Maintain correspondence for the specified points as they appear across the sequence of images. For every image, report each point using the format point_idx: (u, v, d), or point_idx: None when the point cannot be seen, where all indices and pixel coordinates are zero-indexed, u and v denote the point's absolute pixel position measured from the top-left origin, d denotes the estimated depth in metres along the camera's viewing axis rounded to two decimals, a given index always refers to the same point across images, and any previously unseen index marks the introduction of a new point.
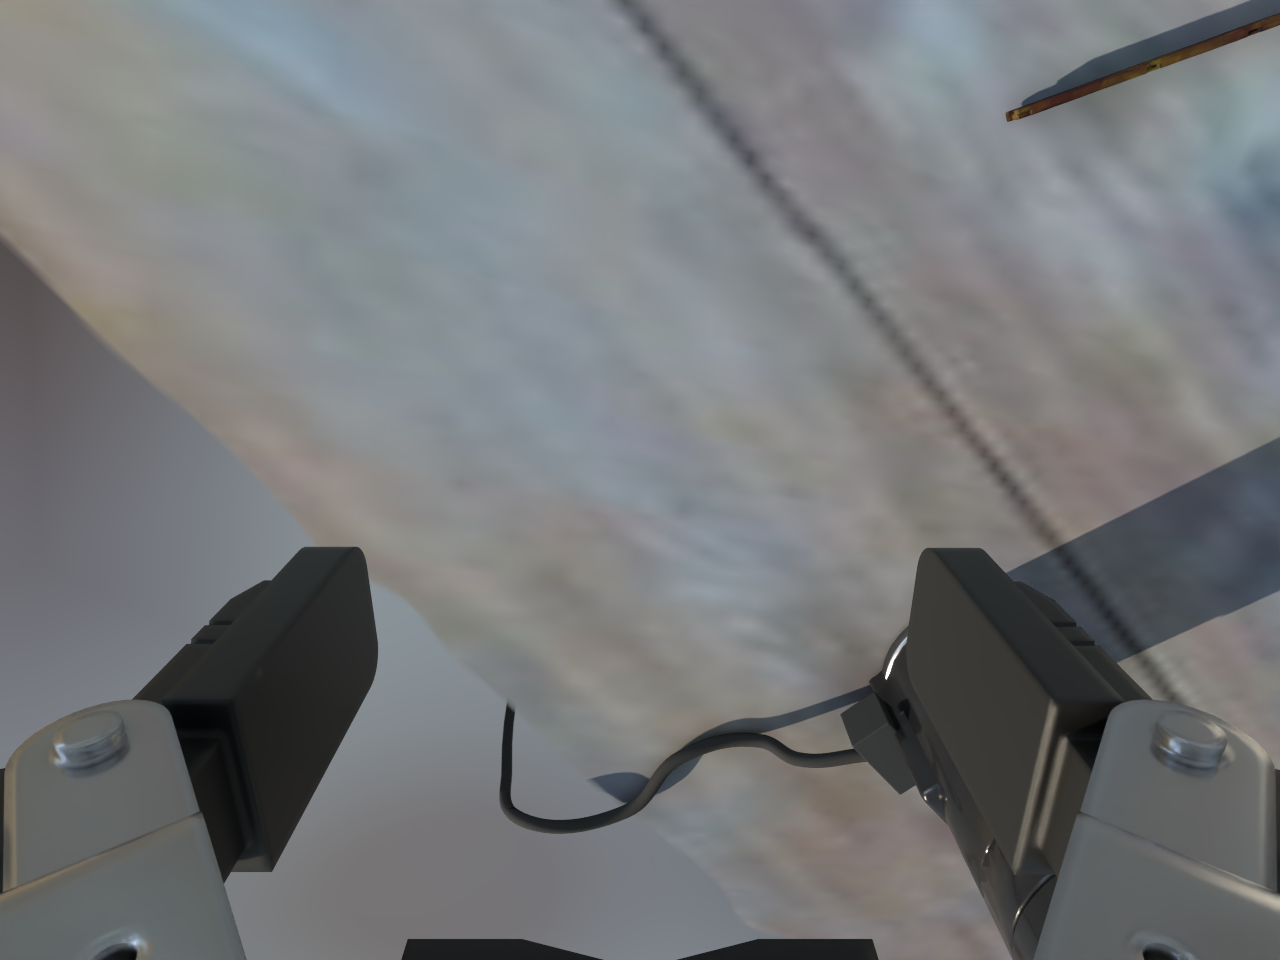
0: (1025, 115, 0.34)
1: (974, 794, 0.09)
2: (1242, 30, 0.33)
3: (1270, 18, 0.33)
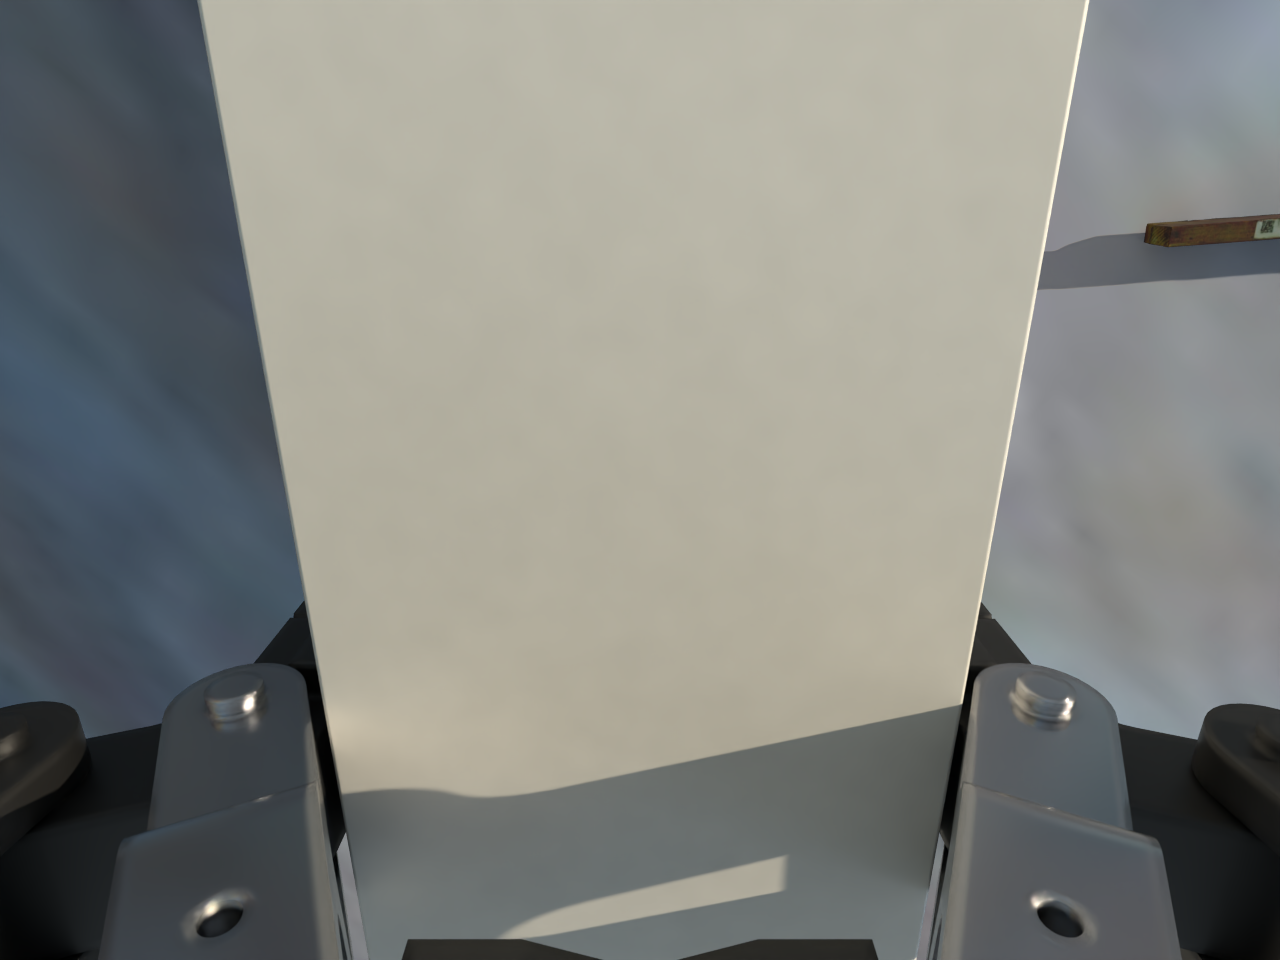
0: None
1: None
2: None
3: None
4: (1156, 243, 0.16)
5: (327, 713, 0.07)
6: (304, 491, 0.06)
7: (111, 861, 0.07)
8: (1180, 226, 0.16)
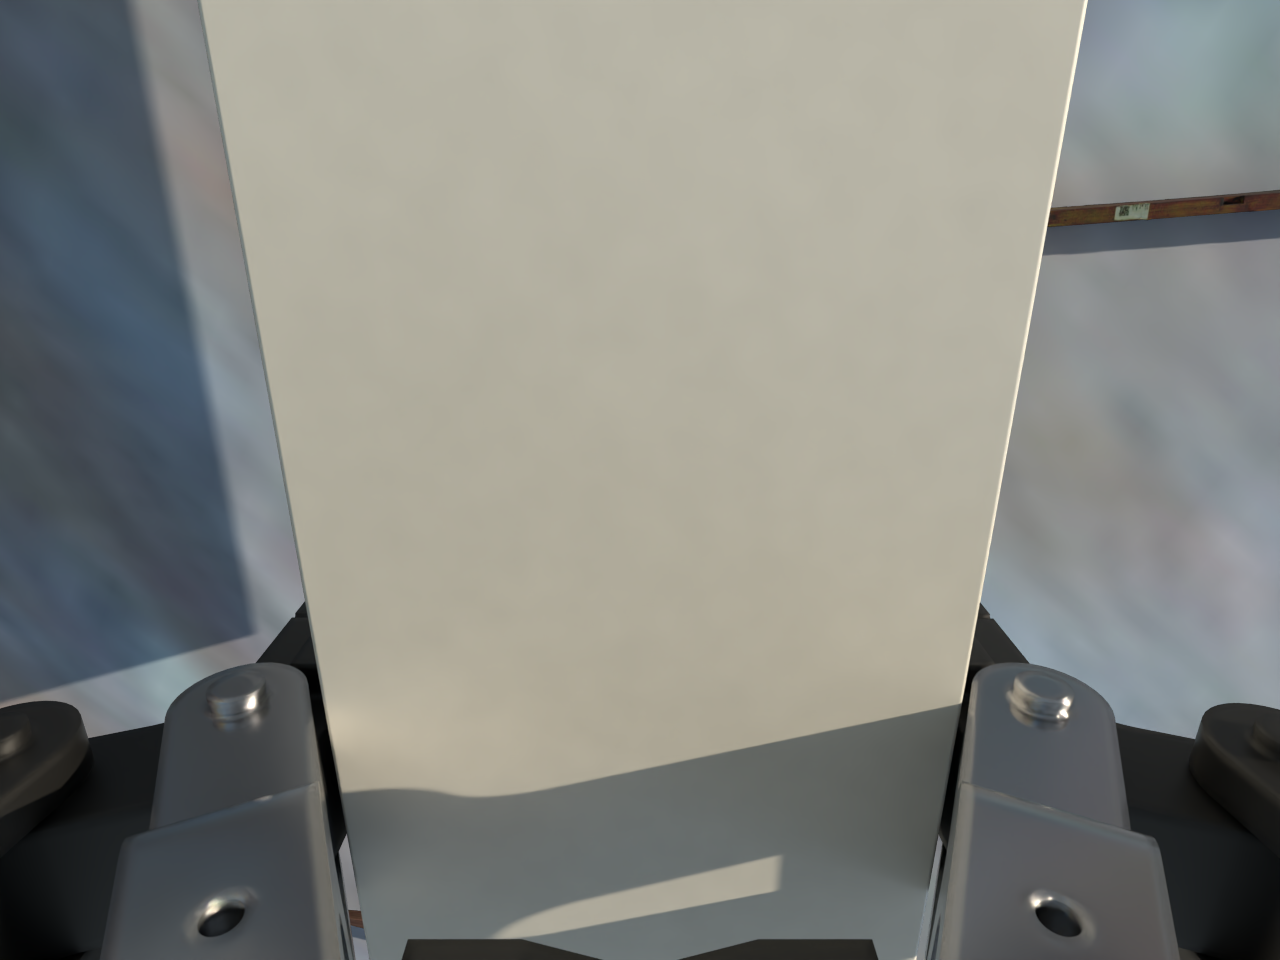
0: None
1: None
2: (1250, 207, 0.20)
3: (1203, 213, 0.20)
4: None
5: (328, 712, 0.07)
6: (304, 490, 0.06)
7: (114, 861, 0.07)
8: (1056, 210, 0.20)
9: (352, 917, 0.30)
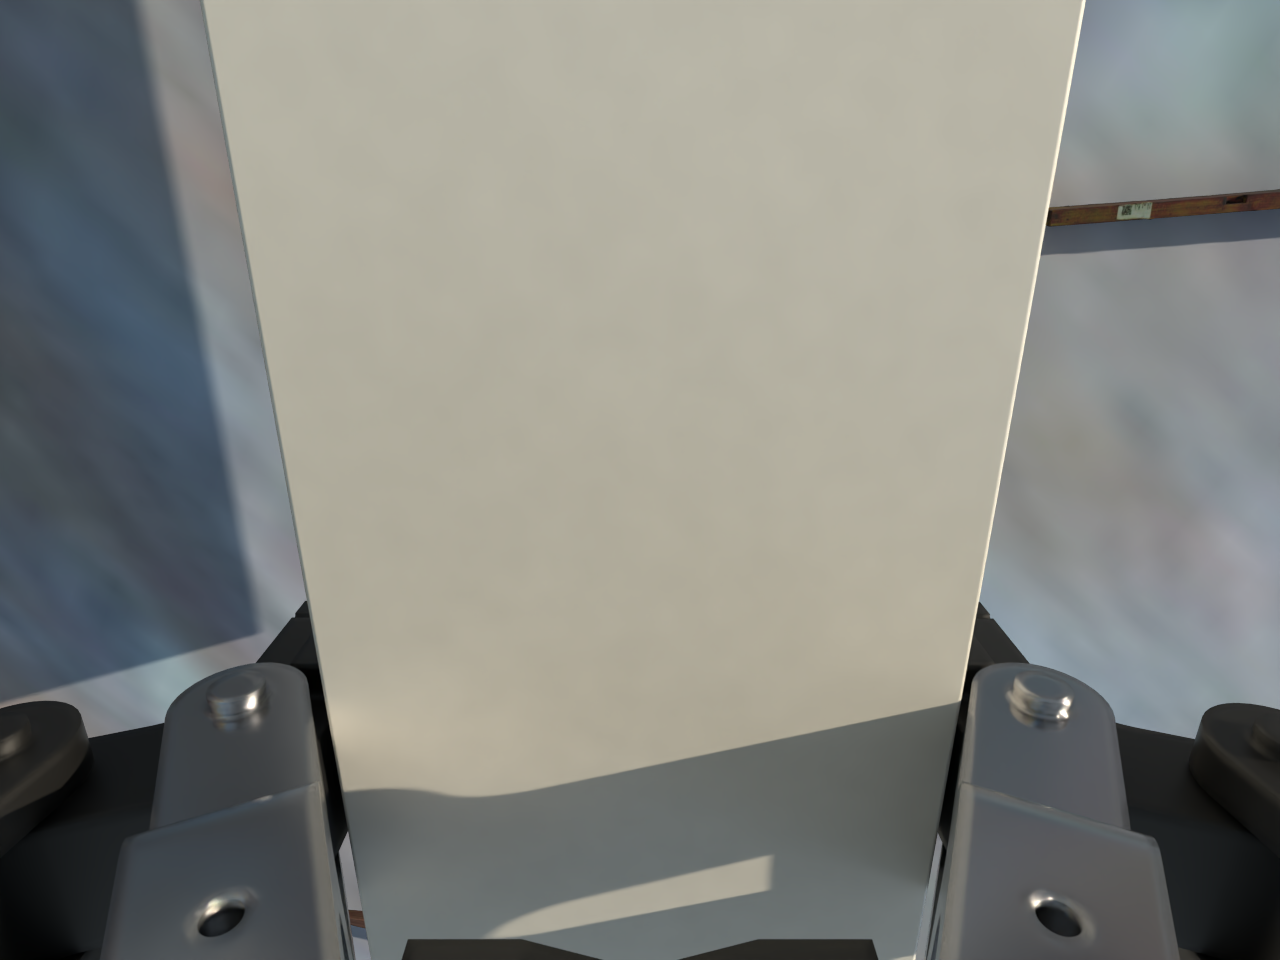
0: None
1: None
2: (1253, 206, 0.20)
3: (1206, 213, 0.20)
4: None
5: (329, 710, 0.07)
6: (306, 489, 0.06)
7: (114, 861, 0.07)
8: (1059, 210, 0.20)
9: (353, 917, 0.30)
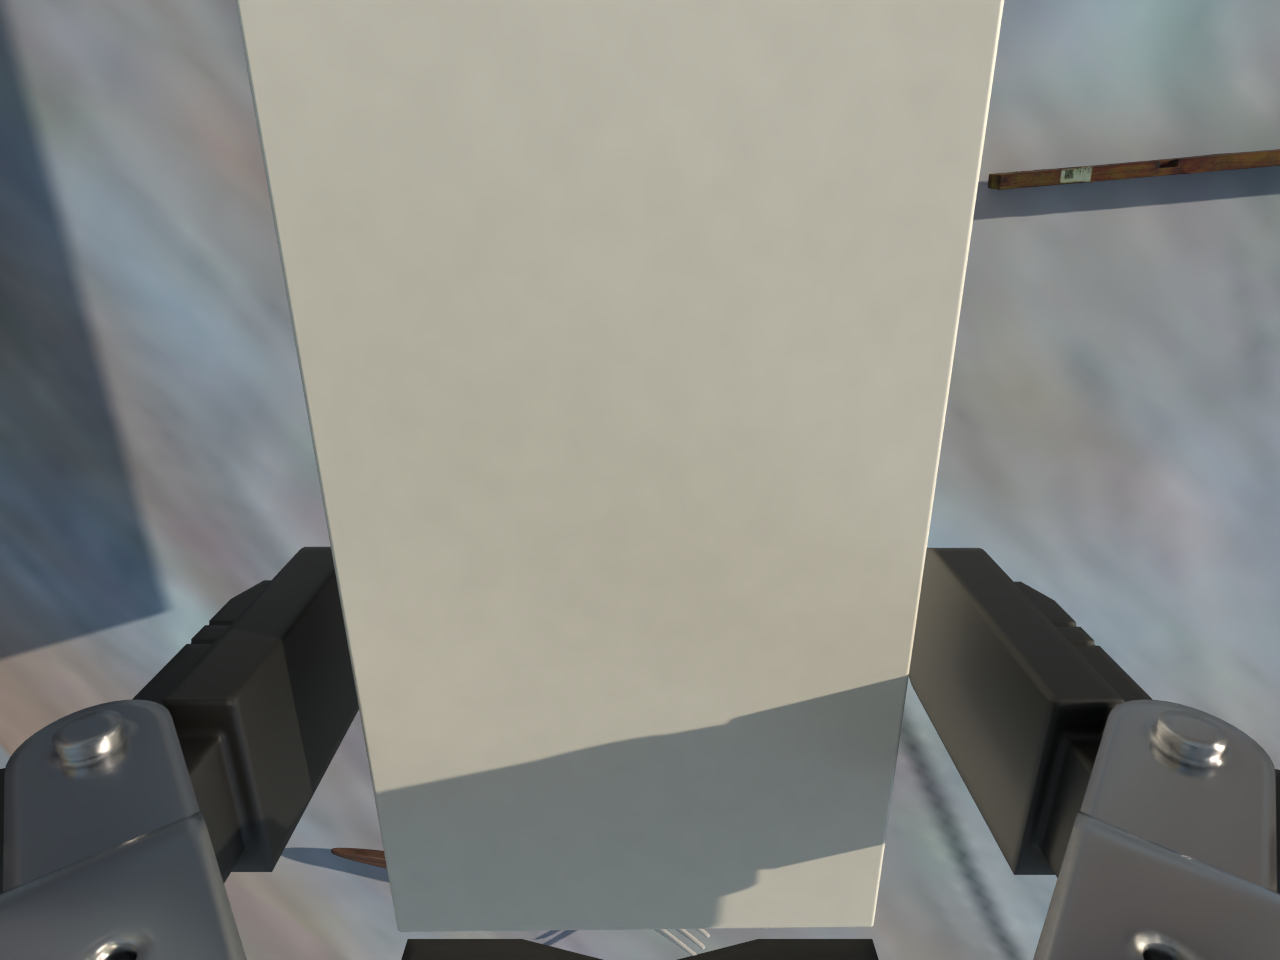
0: None
1: (974, 794, 0.09)
2: (1184, 170, 0.22)
3: (1141, 176, 0.22)
4: (993, 187, 0.23)
5: (340, 587, 0.08)
6: (318, 370, 0.07)
7: None
8: (1007, 174, 0.22)
9: (363, 855, 0.32)
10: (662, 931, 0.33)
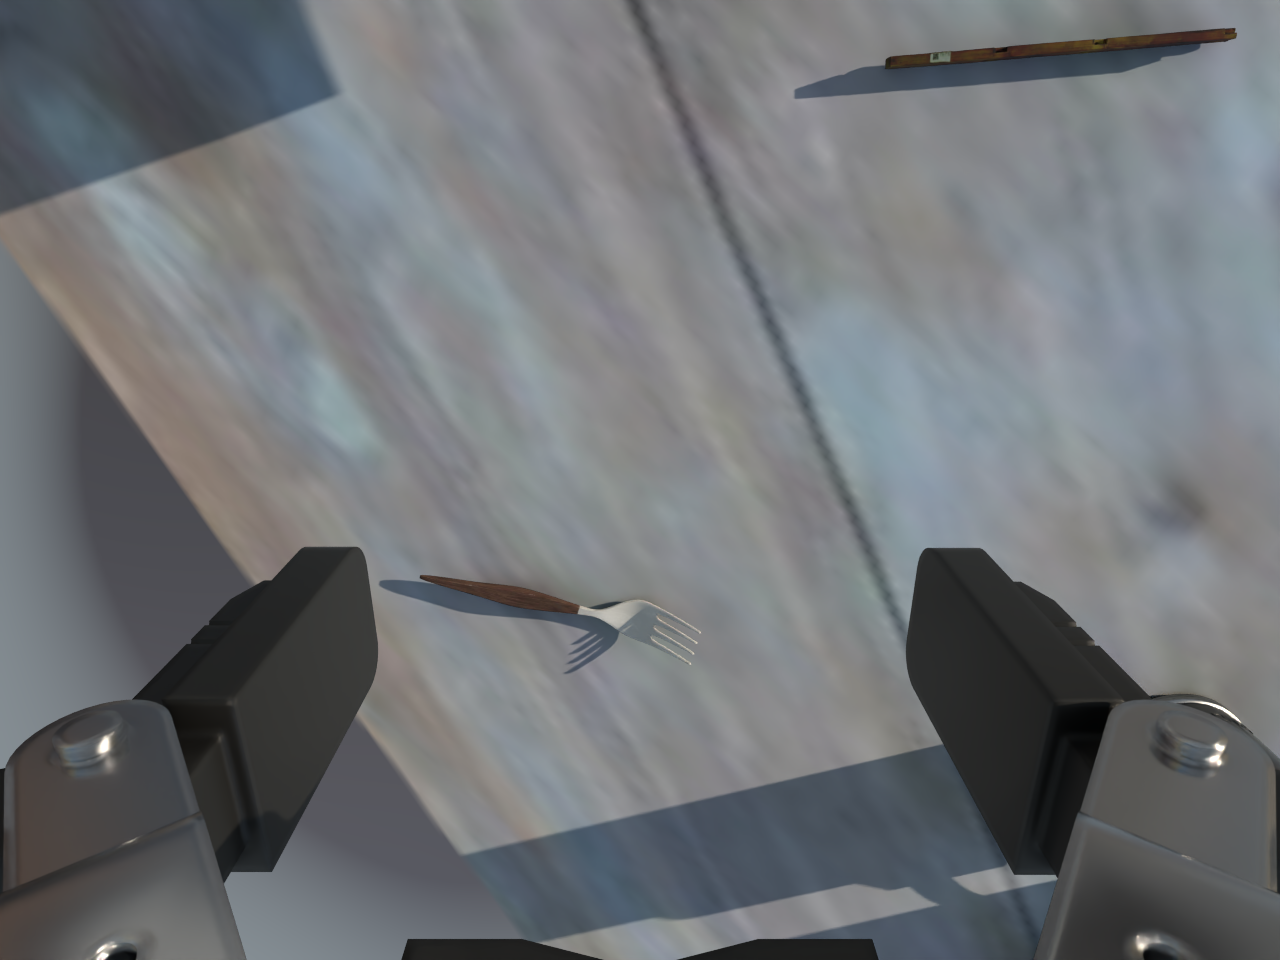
0: (1228, 30, 0.33)
1: (974, 794, 0.09)
2: (1011, 54, 0.34)
3: (984, 58, 0.34)
4: (887, 66, 0.34)
5: None
6: None
7: None
8: (895, 56, 0.34)
9: (443, 580, 0.43)
10: (663, 647, 0.44)
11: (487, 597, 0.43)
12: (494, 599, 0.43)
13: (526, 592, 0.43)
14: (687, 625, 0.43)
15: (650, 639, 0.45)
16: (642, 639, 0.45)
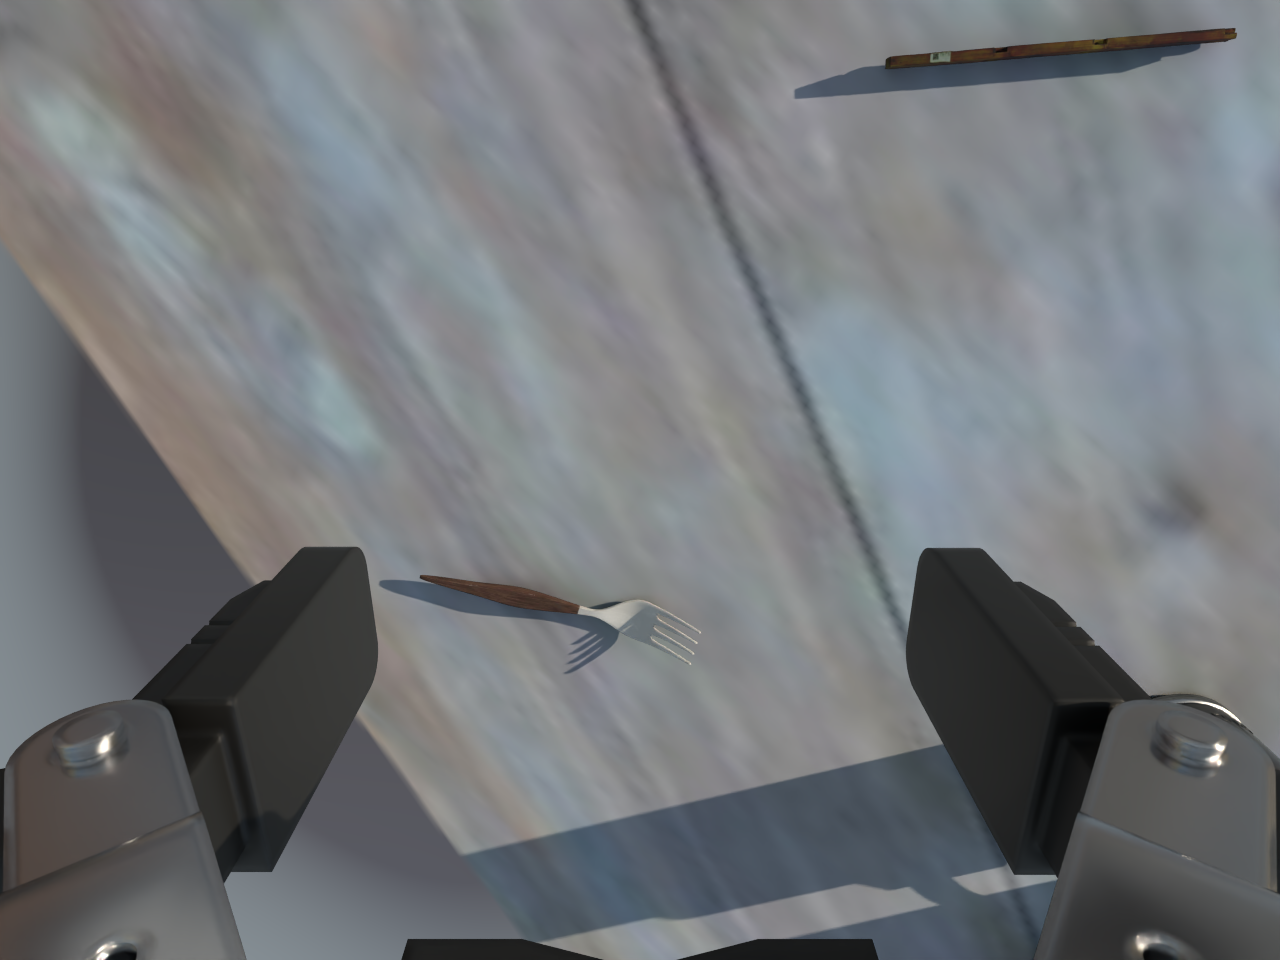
0: (1228, 30, 0.33)
1: (974, 794, 0.09)
2: (1011, 54, 0.34)
3: (984, 58, 0.34)
4: (887, 66, 0.34)
5: None
6: None
7: None
8: (895, 56, 0.34)
9: (443, 580, 0.43)
10: (663, 647, 0.44)
11: (487, 597, 0.43)
12: (494, 599, 0.43)
13: (526, 592, 0.43)
14: (687, 625, 0.43)
15: (650, 639, 0.45)
16: (642, 639, 0.45)
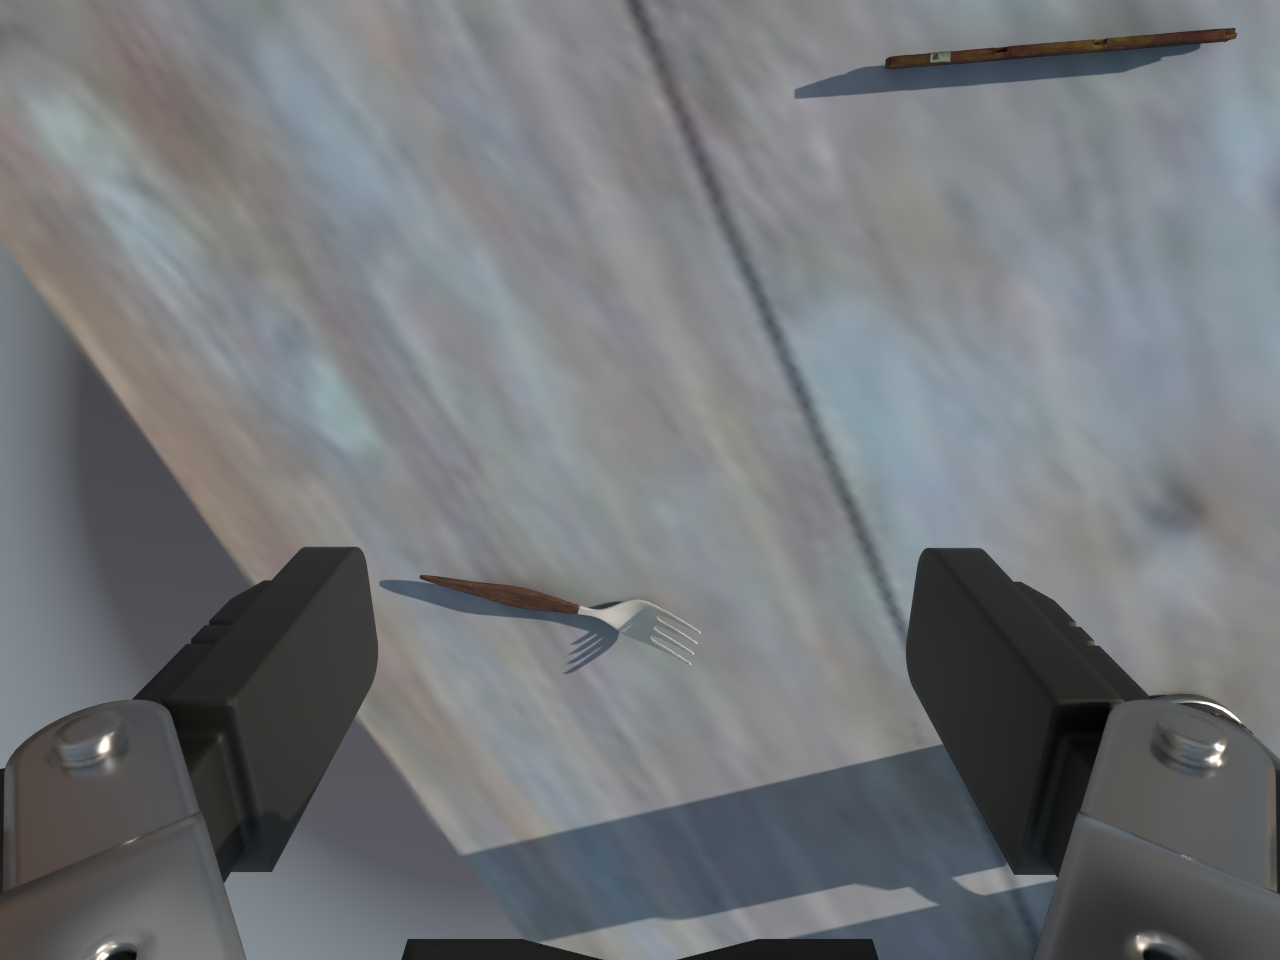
0: (1228, 30, 0.33)
1: (974, 794, 0.09)
2: (1011, 54, 0.34)
3: (984, 58, 0.34)
4: (887, 66, 0.34)
5: None
6: None
7: None
8: (895, 56, 0.34)
9: (443, 580, 0.43)
10: (663, 647, 0.44)
11: (487, 597, 0.43)
12: (494, 599, 0.43)
13: (526, 592, 0.43)
14: (687, 625, 0.43)
15: (650, 639, 0.45)
16: (642, 639, 0.45)
